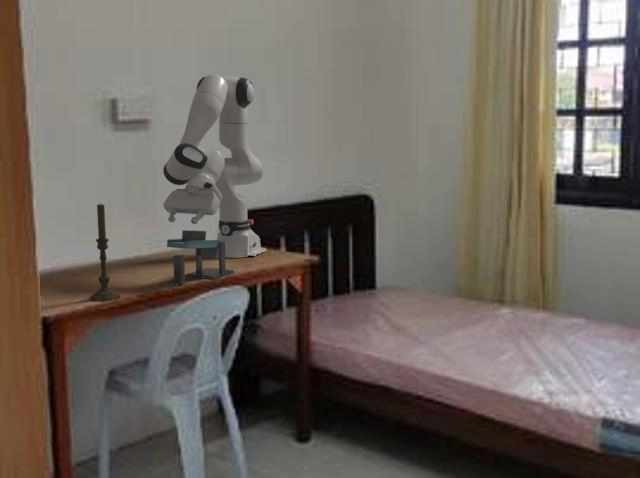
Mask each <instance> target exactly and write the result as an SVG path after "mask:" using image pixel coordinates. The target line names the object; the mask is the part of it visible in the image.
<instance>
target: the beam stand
mask: <svg viewBox="0 0 640 478" xmlns="http://www.w3.org/2000/svg"><path fill="white" fill-rule="evenodd" d="M194 249H195V270H194V271H191V272H188V273H186V269H185V254H174V255H172V260H173V261H172V265H173V285H174V284H178V285H177V286H181V285H182V286H184V285H183V284H185V285H186V278H185V277H188V276H192V277H191V278H197V277H204V278H203V279H206V278H210V279H209V280H217V279H220V278H223V277H227V276H230V275H233V274H235V270H234V269H233V270H232V269H227V268H226V257H225V242H220V243H219V258H218V266H219V267H218V268H214V267H205V268H203V257H201V248H194ZM185 273H186V274H187V275H185Z"/></svg>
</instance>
